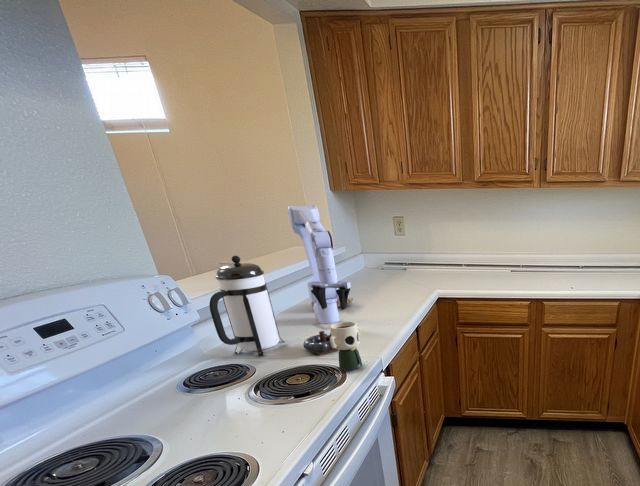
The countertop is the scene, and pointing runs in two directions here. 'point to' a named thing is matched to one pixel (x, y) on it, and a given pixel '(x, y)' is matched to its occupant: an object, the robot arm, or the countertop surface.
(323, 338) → the peg
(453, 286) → the countertop surface
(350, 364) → the character mug
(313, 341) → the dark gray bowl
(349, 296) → the sponge
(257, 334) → the coffee press
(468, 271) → the countertop surface
